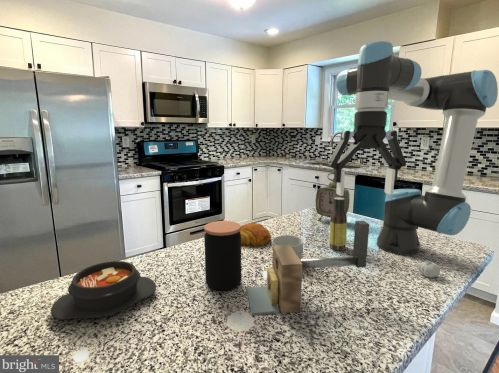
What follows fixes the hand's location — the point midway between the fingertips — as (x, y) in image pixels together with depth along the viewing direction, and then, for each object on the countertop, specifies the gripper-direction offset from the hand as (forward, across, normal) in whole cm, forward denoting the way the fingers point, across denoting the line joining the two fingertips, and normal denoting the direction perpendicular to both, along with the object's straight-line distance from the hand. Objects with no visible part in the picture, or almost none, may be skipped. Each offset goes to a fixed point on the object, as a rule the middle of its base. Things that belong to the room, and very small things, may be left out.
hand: (364, 194), depth 76 cm
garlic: (+29, +28, +7) cm, 41 cm away
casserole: (+29, -68, +4) cm, 74 cm away
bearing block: (+29, -21, 0) cm, 35 cm away
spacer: (+28, -24, 0) cm, 37 cm away
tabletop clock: (+29, +19, +64) cm, 72 cm away
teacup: (+29, -14, +24) cm, 40 cm away
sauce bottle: (+29, +8, +32) cm, 44 cm away
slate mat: (+29, -27, 0) cm, 39 cm away
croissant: (+29, -24, +43) cm, 57 cm away
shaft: (+20, -9, 0) cm, 22 cm away
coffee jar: (+29, -37, +10) cm, 48 cm away
